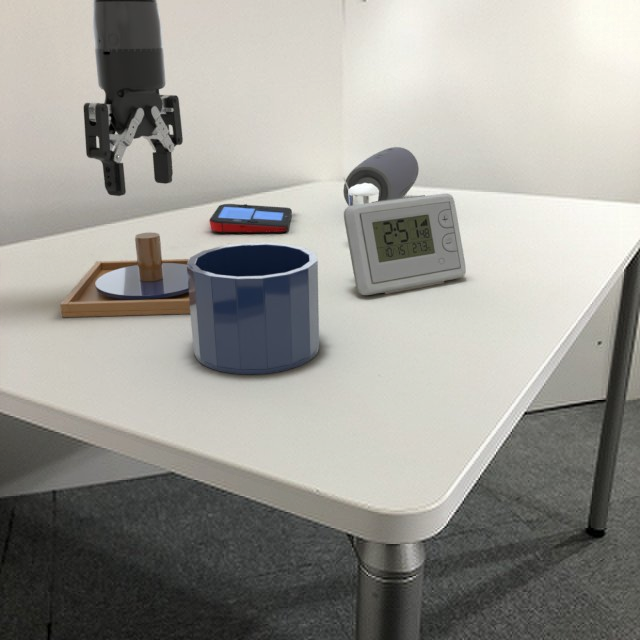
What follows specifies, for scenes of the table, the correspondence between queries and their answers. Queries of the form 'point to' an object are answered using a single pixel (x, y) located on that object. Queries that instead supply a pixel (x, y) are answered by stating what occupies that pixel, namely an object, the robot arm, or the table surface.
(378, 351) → the table surface
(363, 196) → the milkshake
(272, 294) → the pot
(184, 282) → the pot lid
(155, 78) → the robot arm
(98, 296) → the wooden tray
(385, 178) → the bluetooth speaker
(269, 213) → the game console
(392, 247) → the digital clock
